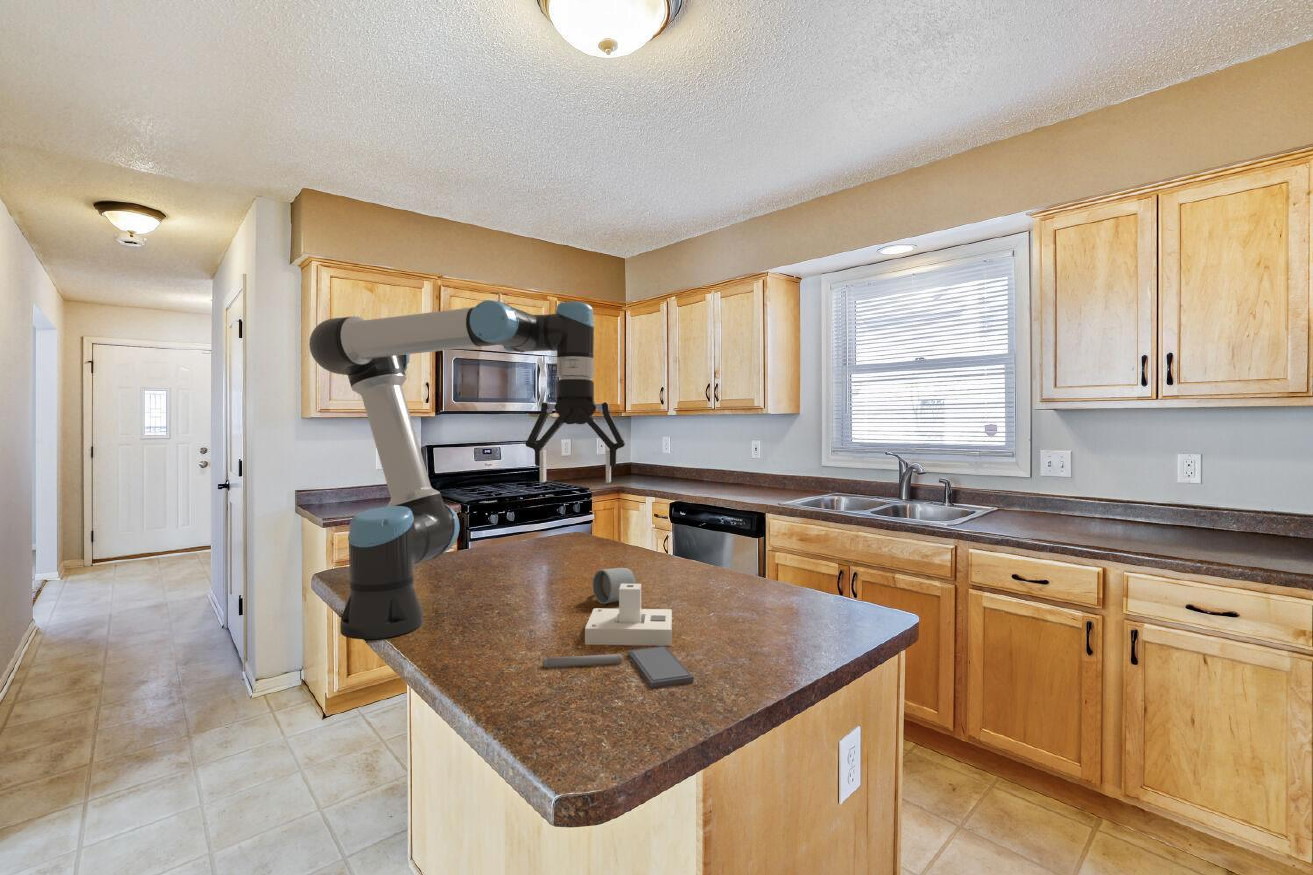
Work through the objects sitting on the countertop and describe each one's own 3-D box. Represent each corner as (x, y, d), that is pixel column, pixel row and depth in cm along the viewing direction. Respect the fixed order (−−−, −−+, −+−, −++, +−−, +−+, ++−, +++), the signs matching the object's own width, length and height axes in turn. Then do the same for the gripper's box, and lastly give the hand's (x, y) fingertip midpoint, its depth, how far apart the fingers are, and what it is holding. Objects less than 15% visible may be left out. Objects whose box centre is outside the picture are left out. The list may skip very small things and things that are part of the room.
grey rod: (542, 669, 102) (542, 660, 102) (542, 665, 104) (542, 656, 104) (623, 665, 104) (623, 655, 104) (622, 661, 106) (622, 652, 106)
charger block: (619, 635, 117) (619, 588, 117) (621, 628, 121) (621, 582, 121) (639, 635, 117) (640, 588, 117) (641, 628, 121) (641, 582, 121)
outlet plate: (584, 644, 113) (584, 627, 113) (593, 622, 125) (593, 607, 125) (671, 645, 113) (671, 628, 113) (671, 623, 125) (671, 608, 125)
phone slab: (651, 687, 95) (651, 682, 95) (627, 654, 108) (627, 649, 108) (693, 681, 97) (693, 676, 97) (665, 650, 110) (665, 645, 110)
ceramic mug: (639, 600, 141) (639, 567, 141) (610, 607, 135) (610, 573, 135) (612, 591, 149) (611, 560, 149) (584, 597, 143) (583, 565, 143)
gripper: (510, 377, 122) (511, 483, 123) (634, 377, 122) (634, 484, 122) (520, 380, 130) (520, 479, 131) (637, 380, 129) (637, 480, 130)
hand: (575, 482), depth 126 cm, fingers open, 13 cm apart
